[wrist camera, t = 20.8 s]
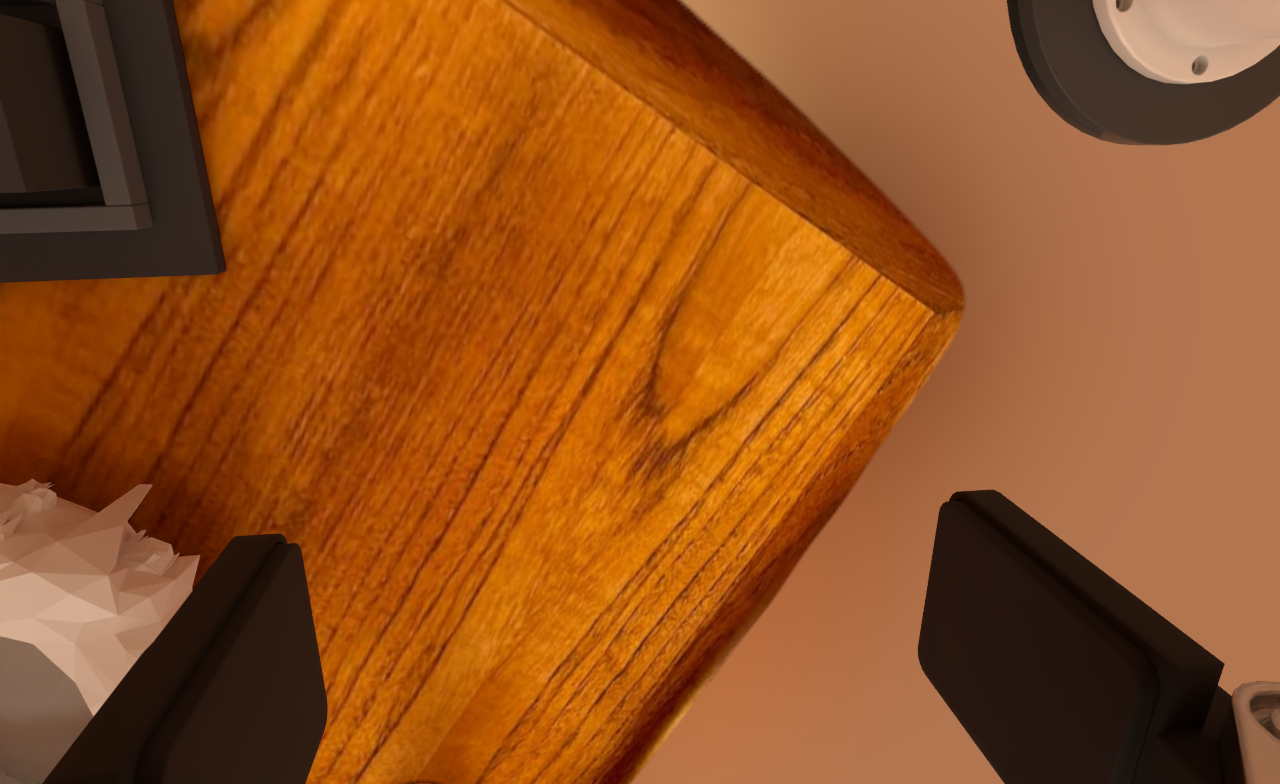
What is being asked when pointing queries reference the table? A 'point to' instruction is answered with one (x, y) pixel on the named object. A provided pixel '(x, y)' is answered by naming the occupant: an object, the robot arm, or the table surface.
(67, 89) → the dark block
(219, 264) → the base pad
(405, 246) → the table surface
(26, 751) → the bowl
